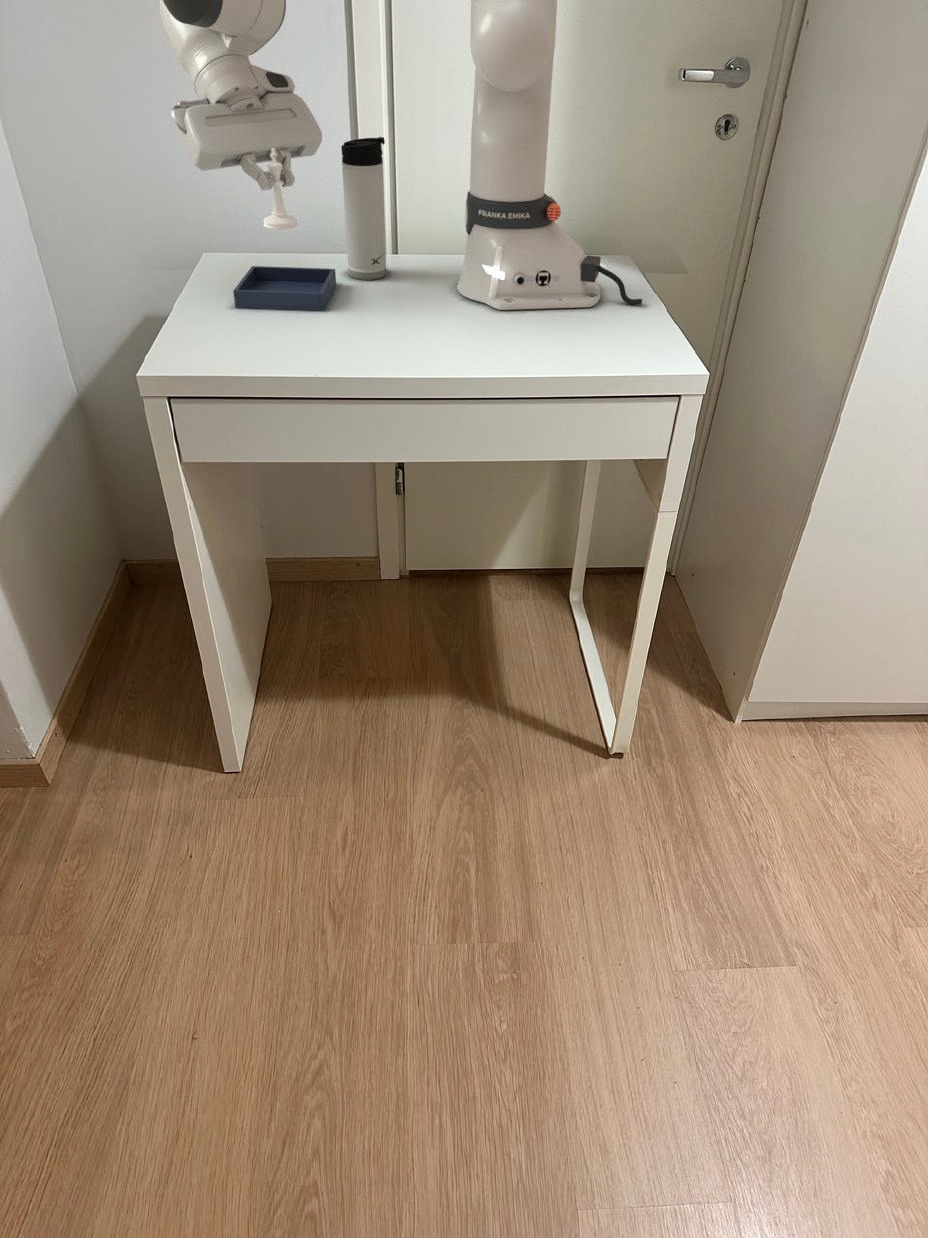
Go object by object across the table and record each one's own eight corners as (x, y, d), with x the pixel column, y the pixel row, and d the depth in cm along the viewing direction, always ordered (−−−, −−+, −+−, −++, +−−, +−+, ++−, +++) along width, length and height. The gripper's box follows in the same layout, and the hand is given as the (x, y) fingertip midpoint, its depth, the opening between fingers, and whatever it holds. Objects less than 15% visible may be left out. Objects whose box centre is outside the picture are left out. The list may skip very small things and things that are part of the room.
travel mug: (386, 280, 142) (382, 141, 130) (345, 279, 142) (337, 140, 130) (390, 269, 147) (386, 134, 134) (350, 267, 147) (343, 132, 134)
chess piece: (302, 221, 130) (295, 145, 124) (291, 230, 126) (284, 152, 120) (270, 219, 130) (262, 143, 124) (258, 227, 127) (249, 150, 120)
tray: (336, 284, 140) (335, 268, 138) (323, 310, 130) (322, 293, 129) (253, 281, 140) (251, 265, 138) (235, 307, 130) (233, 290, 129)
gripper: (171, 85, 116) (220, 180, 116) (300, 75, 127) (345, 162, 127) (160, 119, 121) (208, 210, 122) (285, 106, 132) (328, 189, 133)
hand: (279, 185), depth 125 cm, fingers closed on chess piece
